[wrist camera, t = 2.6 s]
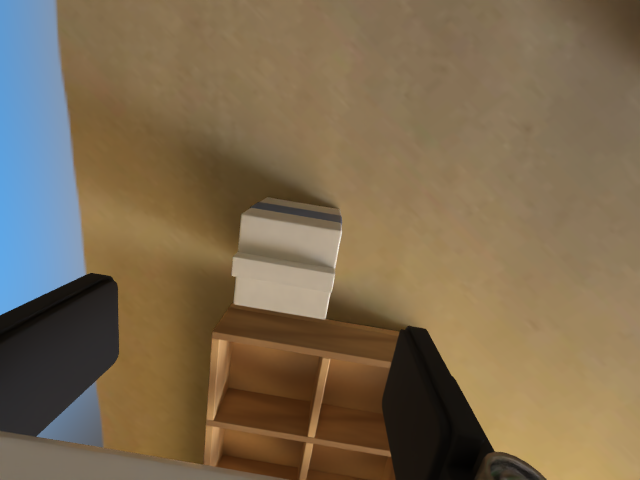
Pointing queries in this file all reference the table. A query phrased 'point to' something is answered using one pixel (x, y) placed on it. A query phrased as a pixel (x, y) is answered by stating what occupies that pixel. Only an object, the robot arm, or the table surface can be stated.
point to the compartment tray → (298, 397)
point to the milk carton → (287, 257)
